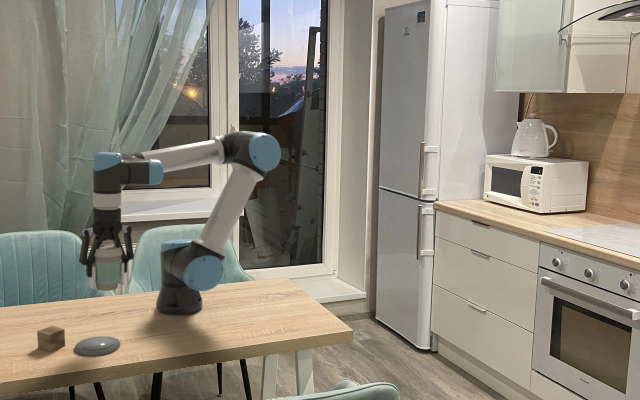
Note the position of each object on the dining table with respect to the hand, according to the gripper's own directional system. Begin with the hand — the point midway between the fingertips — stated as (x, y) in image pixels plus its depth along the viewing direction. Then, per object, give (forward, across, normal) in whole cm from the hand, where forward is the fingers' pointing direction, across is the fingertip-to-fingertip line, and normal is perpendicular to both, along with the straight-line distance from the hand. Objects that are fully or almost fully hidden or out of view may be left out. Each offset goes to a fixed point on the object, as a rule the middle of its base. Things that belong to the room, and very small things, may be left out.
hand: (106, 285), depth 182 cm
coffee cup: (+1, 0, 0) cm, 1 cm away
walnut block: (+17, +14, -3) cm, 22 cm away
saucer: (+16, +4, +4) cm, 17 cm away
